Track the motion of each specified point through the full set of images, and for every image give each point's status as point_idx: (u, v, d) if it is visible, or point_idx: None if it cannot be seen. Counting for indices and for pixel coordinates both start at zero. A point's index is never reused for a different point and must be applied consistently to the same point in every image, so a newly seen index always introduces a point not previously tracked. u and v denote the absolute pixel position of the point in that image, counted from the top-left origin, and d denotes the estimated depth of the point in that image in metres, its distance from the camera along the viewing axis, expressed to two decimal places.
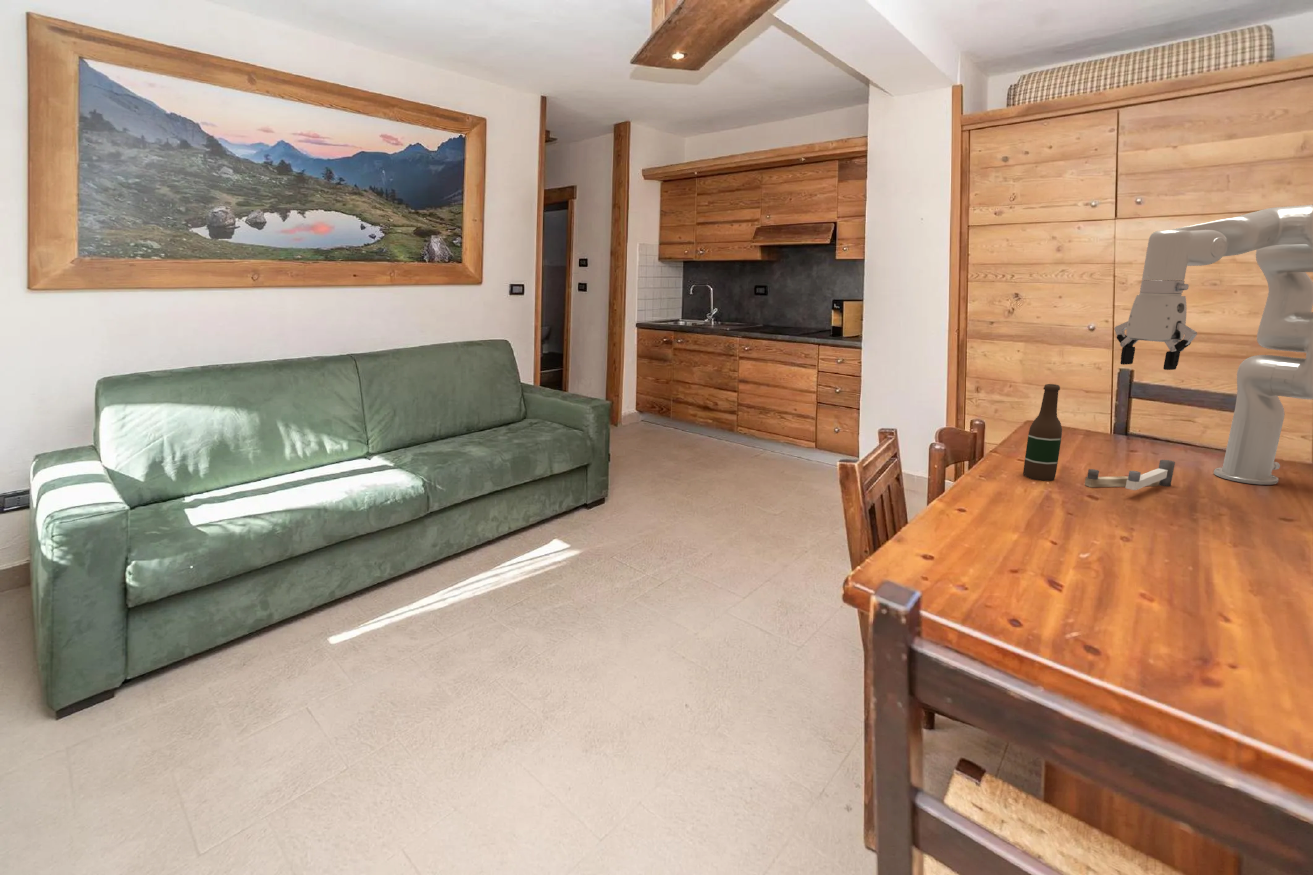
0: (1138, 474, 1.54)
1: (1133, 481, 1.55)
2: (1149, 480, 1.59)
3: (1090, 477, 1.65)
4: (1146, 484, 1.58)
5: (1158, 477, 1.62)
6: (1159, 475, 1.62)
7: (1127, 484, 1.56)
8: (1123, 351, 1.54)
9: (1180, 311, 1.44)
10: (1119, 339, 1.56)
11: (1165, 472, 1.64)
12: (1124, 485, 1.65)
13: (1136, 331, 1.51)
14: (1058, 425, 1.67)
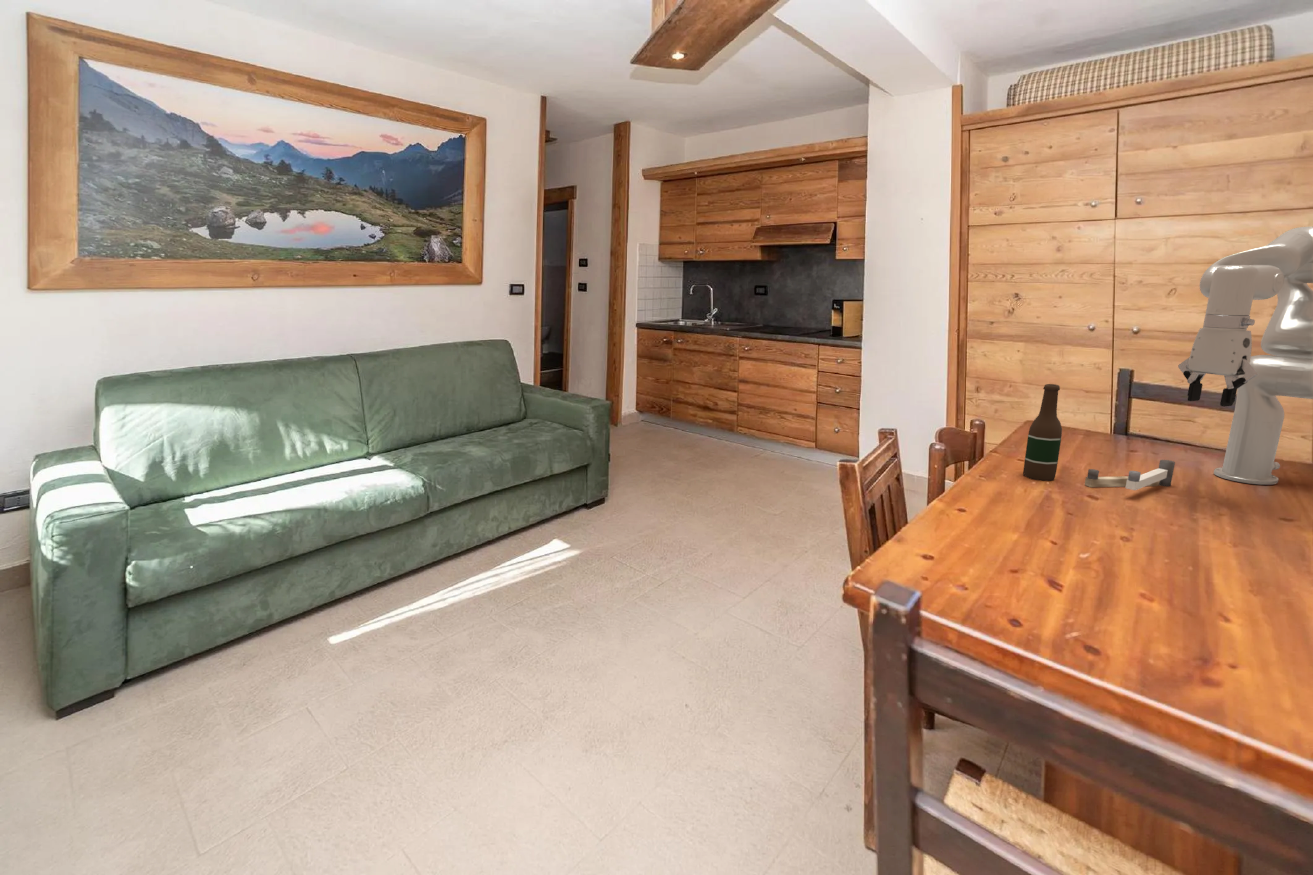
0: (1138, 474, 1.54)
1: (1133, 481, 1.55)
2: (1149, 480, 1.59)
3: (1090, 477, 1.65)
4: (1146, 484, 1.58)
5: (1158, 477, 1.62)
6: (1159, 475, 1.62)
7: (1127, 484, 1.56)
8: (1191, 388, 1.54)
9: (1245, 346, 1.46)
10: (1186, 375, 1.56)
11: (1165, 472, 1.64)
12: (1124, 485, 1.65)
13: (1199, 364, 1.52)
14: (1058, 425, 1.67)
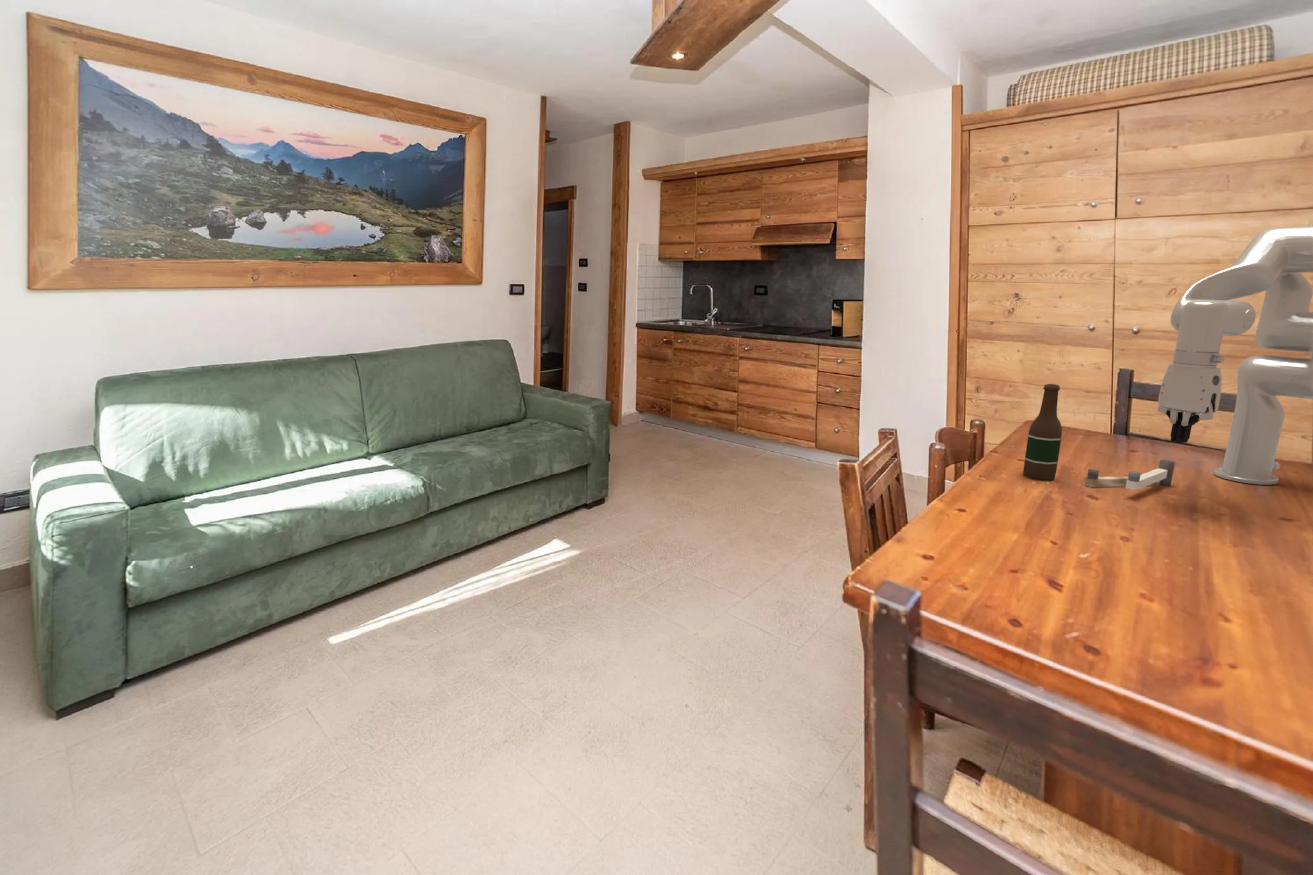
0: (1138, 474, 1.54)
1: (1133, 481, 1.55)
2: (1149, 480, 1.59)
3: (1090, 477, 1.65)
4: (1146, 484, 1.58)
5: (1158, 477, 1.62)
6: (1159, 475, 1.62)
7: (1127, 484, 1.56)
8: (1174, 428, 1.48)
9: (1215, 383, 1.42)
10: (1169, 415, 1.50)
11: (1165, 472, 1.64)
12: (1124, 485, 1.65)
13: (1169, 400, 1.48)
14: (1058, 425, 1.67)
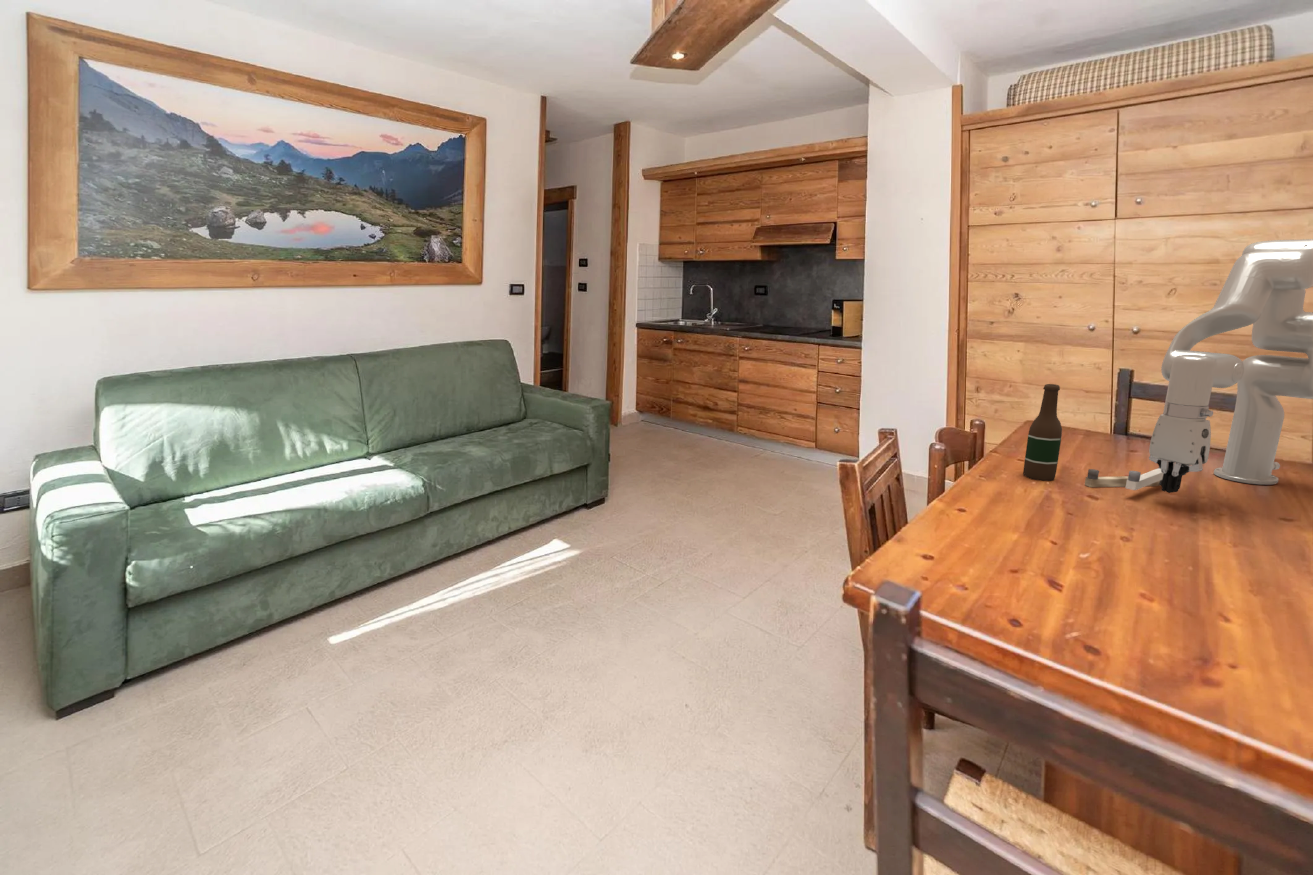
0: (1138, 474, 1.54)
1: (1133, 481, 1.55)
2: (1149, 480, 1.59)
3: (1090, 477, 1.65)
4: (1146, 484, 1.58)
5: (1158, 477, 1.62)
6: (1159, 475, 1.62)
7: (1127, 484, 1.56)
8: (1164, 478, 1.51)
9: (1204, 436, 1.45)
10: (1160, 465, 1.52)
11: None
12: (1124, 485, 1.65)
13: (1159, 451, 1.51)
14: (1058, 425, 1.67)
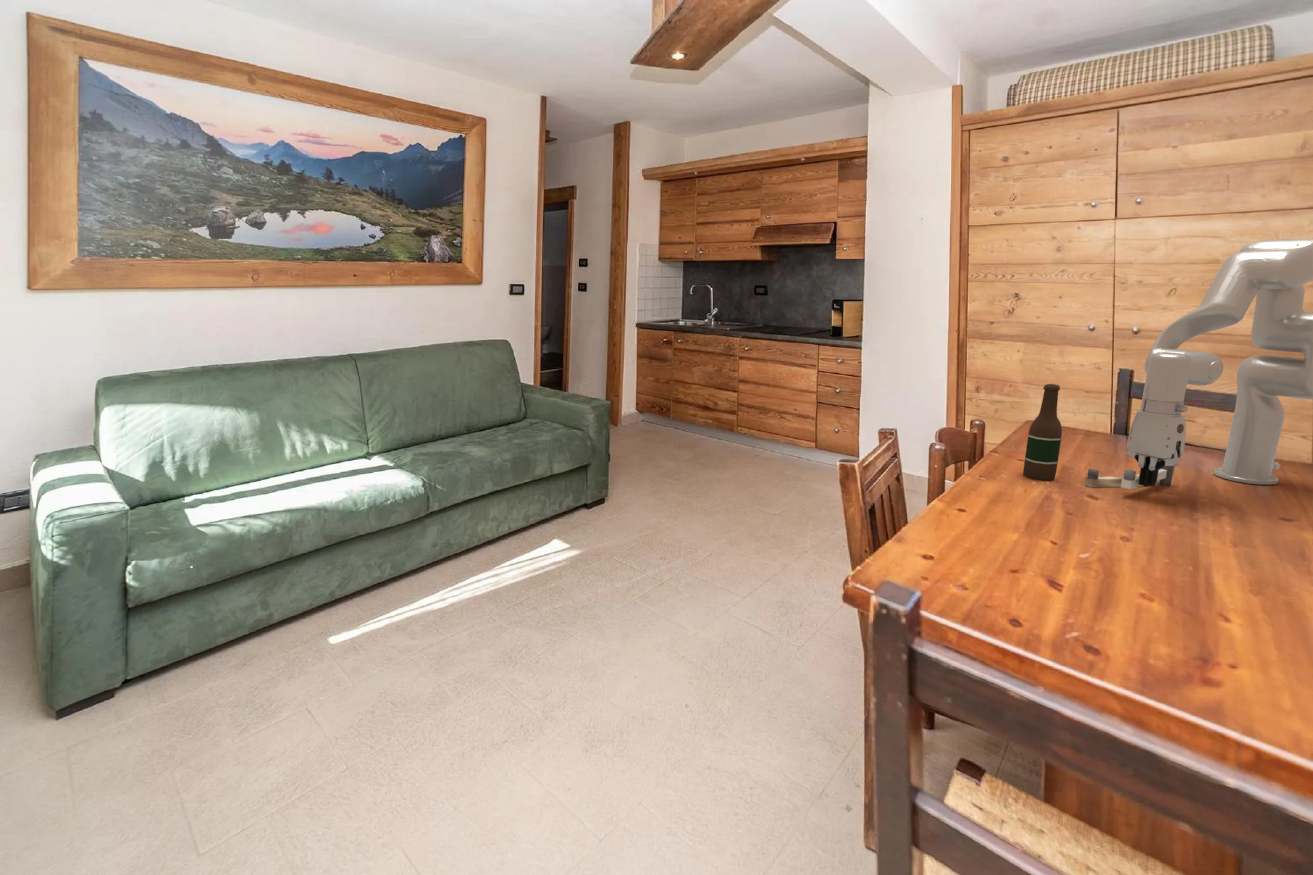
0: (1133, 473, 1.55)
1: (1128, 480, 1.56)
2: None
3: (1090, 477, 1.65)
4: None
5: None
6: None
7: (1122, 483, 1.57)
8: (1142, 472, 1.55)
9: (1180, 431, 1.49)
10: (1137, 459, 1.57)
11: (1164, 472, 1.64)
12: None
13: (1137, 446, 1.55)
14: (1058, 425, 1.67)
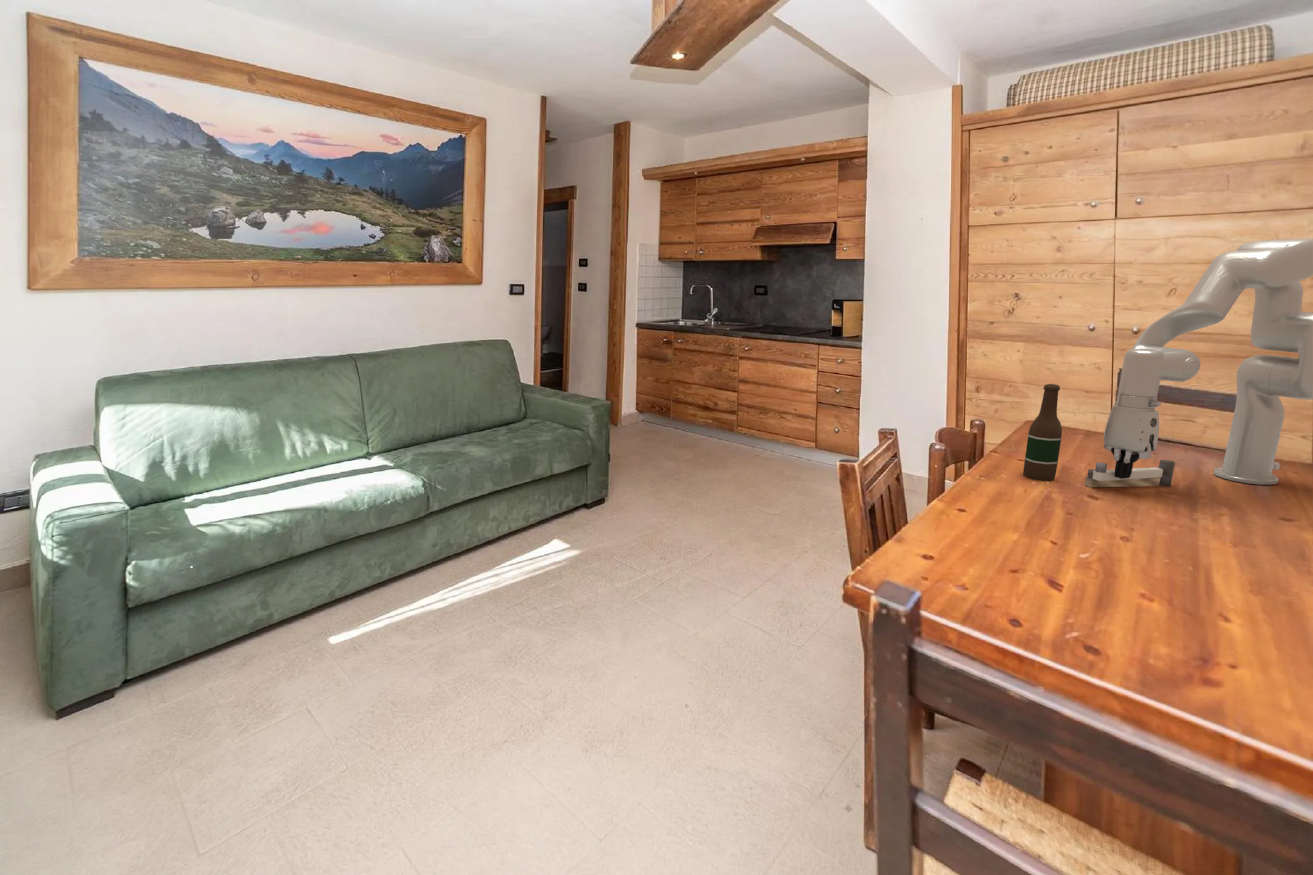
0: (1103, 465, 1.61)
1: (1098, 472, 1.62)
2: None
3: (1090, 477, 1.65)
4: None
5: (1143, 474, 1.64)
6: (1146, 472, 1.64)
7: (1094, 475, 1.63)
8: (1117, 465, 1.60)
9: (1153, 425, 1.54)
10: (1113, 452, 1.62)
11: (1158, 471, 1.65)
12: (1124, 485, 1.65)
13: (1113, 439, 1.60)
14: (1058, 425, 1.67)
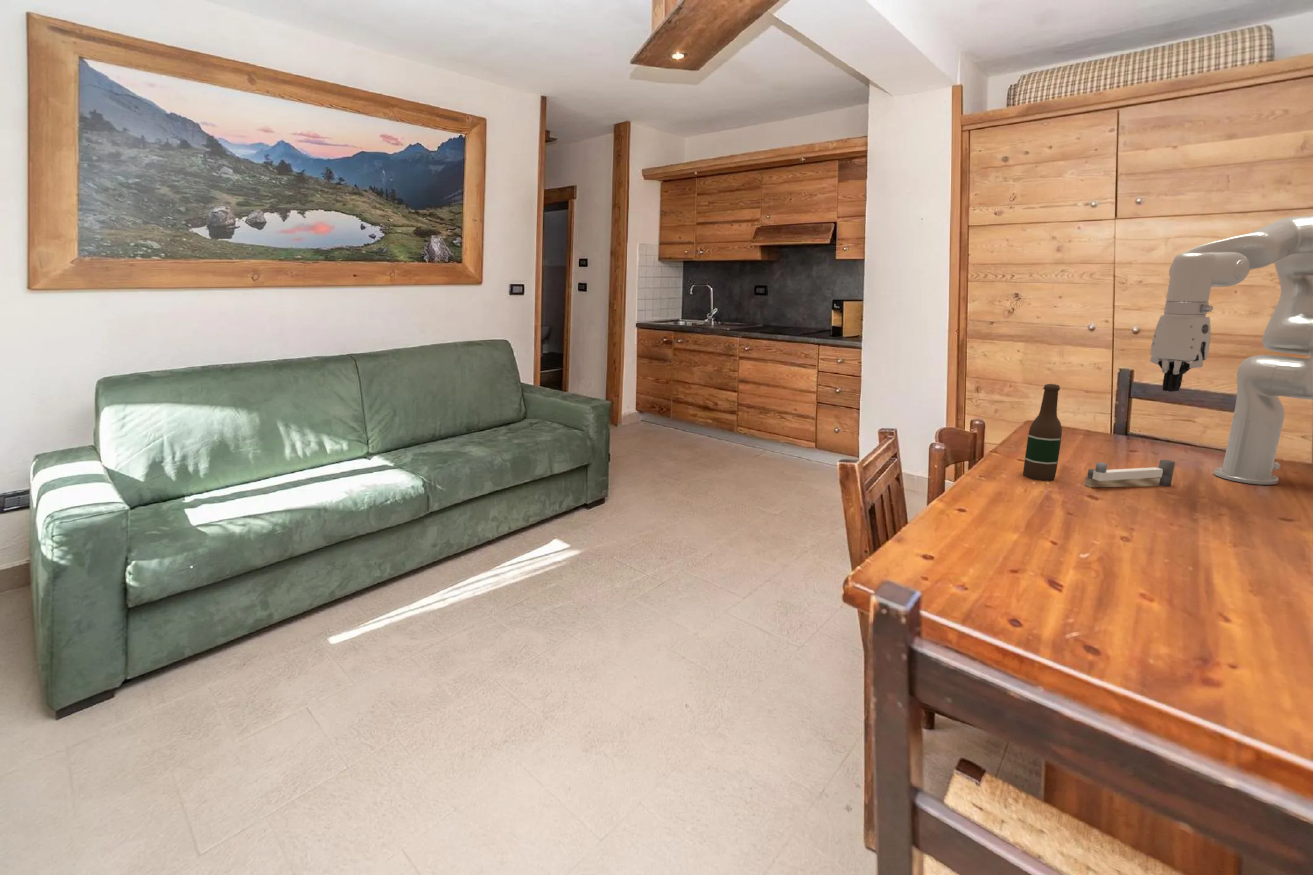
0: (1103, 465, 1.61)
1: (1098, 472, 1.62)
2: (1126, 474, 1.63)
3: (1090, 477, 1.65)
4: (1121, 478, 1.63)
5: (1143, 474, 1.64)
6: (1146, 472, 1.64)
7: (1094, 475, 1.63)
8: (1165, 377, 1.54)
9: (1204, 332, 1.48)
10: (1161, 365, 1.55)
11: (1158, 471, 1.65)
12: (1124, 485, 1.65)
13: (1160, 351, 1.54)
14: (1058, 425, 1.67)
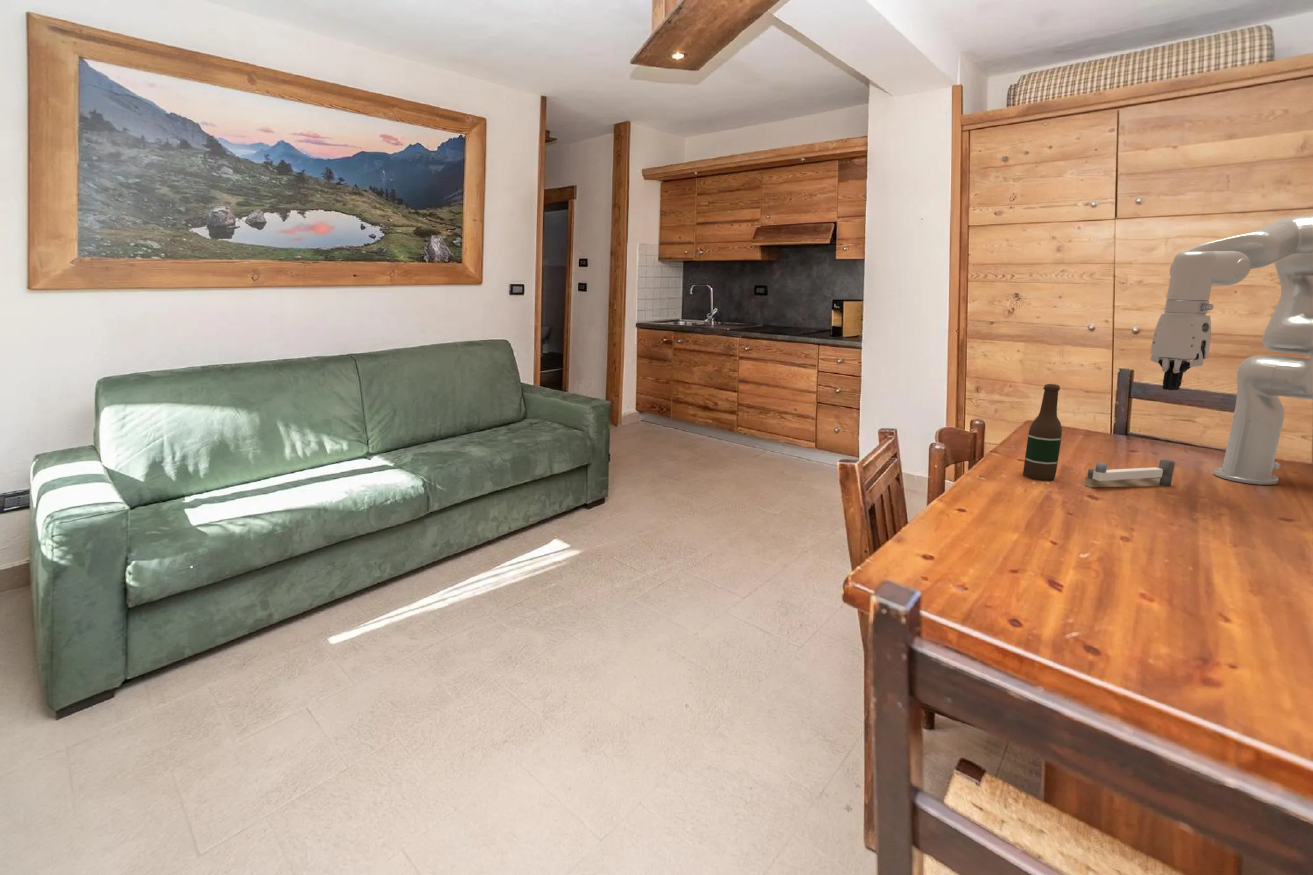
0: (1103, 465, 1.61)
1: (1098, 472, 1.62)
2: (1126, 474, 1.63)
3: (1090, 477, 1.65)
4: (1121, 478, 1.63)
5: (1143, 474, 1.64)
6: (1146, 472, 1.64)
7: (1094, 475, 1.63)
8: (1165, 376, 1.54)
9: (1205, 330, 1.48)
10: (1161, 364, 1.55)
11: (1158, 471, 1.65)
12: (1124, 485, 1.65)
13: (1161, 349, 1.54)
14: (1058, 425, 1.67)
